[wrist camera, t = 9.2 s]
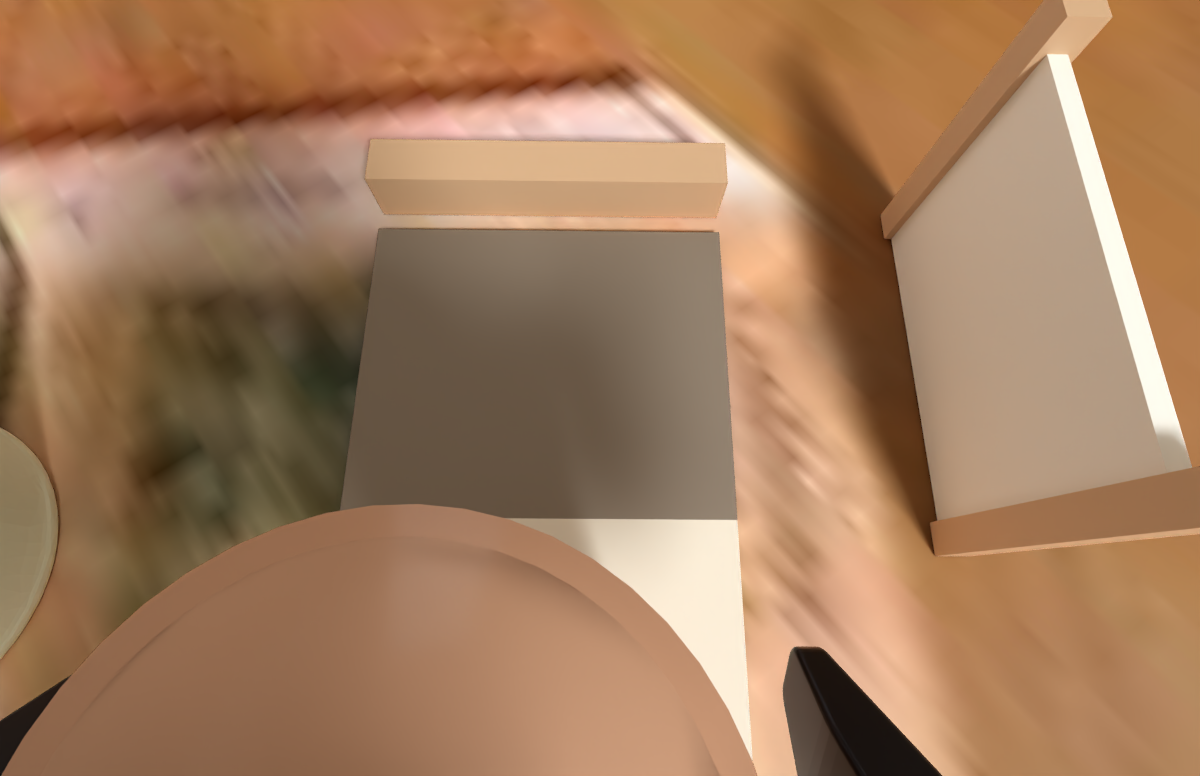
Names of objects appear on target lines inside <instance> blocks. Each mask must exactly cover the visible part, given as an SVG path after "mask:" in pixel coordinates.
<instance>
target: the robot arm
mask: <svg viewBox="0 0 1200 776" xmlns="http://www.w3.org/2000/svg"><path fill="white" fill-rule="evenodd" d="M70 676H71V675H70ZM70 676H69V677H70ZM69 677H67V678H66V679H64V680H63V681H61V682H60V683H58V684H56V685H55V686H53V687H52V688H50V689H49V690H47V691H46V692H44V693H43V694H41V695H39V696H38V697H36V698H35V699H33V700H32V701H30V702H29V703H27V704H26V705H24V706H22V707H21V708H19V709H18V710H16V711H15V712H13V713H12V714H10V715H9V716H7V717H5V718H4V719H2V720H1V721H0V776H1V775H2V773H3V772H4V770H5V768H6V767H7V765H8V763H9V761H10V760H11V758H12V756H13V755H14V753H15V751H16V750H17V748H18V746H19V745H20V743H21V741H22V740H23V738H24V736H25V735H26V734H27V732H28V731H29V730H30V728H31V727H32V726H33V724H34V723H35V722H36V720H37V719H38V717H39V716H40V715H41V713H42V712H43V711H44V709H45V708H46V707H47V705H48V704H49V702H50V701H51V700H52V698H53V697H54V696H55V694H56V693H57V692H58V690H59V689H60V688H61V686H62V685H63V684H64V683H65V682H66V681H67V680H68V679H69ZM783 700H784V706H785V712H786V717H787V722H788V727H789V733H790V738H791V743H792V749H793V754H794V759H795V765H796V770H797V775H798V776H942V775H941V774H940V773H939V772H938V771H937V769H936V768H935V767H934V766H933V765H932V764H931V763H930V762H929V761H928V760H927V759H926V758H925V757H924V756H923V755H922V753H921V752H920V751H919V750H918V749H917V748H916V747H915V746H914V745H913V744H912V743H911V742H910V741H909V740H908V739H907V737H906V736H905V735H904V734H903V733H902V732H901V731H900V730H899V729H898V728H897V727H896V726H895V725H894V724H893V723H892V721H891V720H890V719H889V718H888V717H887V716H886V715H885V714H884V713H883V712H882V711H881V710H880V709H879V708H878V706H877V705H876V704H875V703H874V702H873V701H872V700H871V699H870V698H869V697H868V696H867V695H866V694H865V693H864V692H863V690H862V689H861V688H860V687H859V686H858V685H857V684H856V683H855V682H854V681H853V680H852V679H851V678H850V677H849V676H848V674H847V673H846V672H845V671H844V670H843V669H842V668H841V667H840V666H839V665H838V664H837V663H836V662H835V661H834V659H833V658H832V657H831V656H830V655H829V654H828V653H827V652H826V651H825V650H823V649H822V648H820V647H794V648H793V649H792V650H791V652H790V656H789V660H788V665H787V670H786V674H785V679H784V683H783Z"/></svg>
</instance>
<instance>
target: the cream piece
mask: <svg viewBox="0 0 1200 776" xmlns="http://www.w3.org/2000/svg"><path fill="white" fill-rule="evenodd" d="M1111 18H1112V14H1111V11H1110V8H1109V5H1108V2H1107V0H1044V1H1043V2H1042V3H1041V5H1040V6H1039V7H1038V9H1037V10H1036V11H1035V13H1034V14H1033V15H1032V16H1031V18H1030V19H1029V20H1028V22H1027V23H1026V24H1025V26H1024V27H1023V28H1022V30H1021V31H1020V32H1019V34H1018V35H1017V36H1016V38H1015V39H1014V40H1013V41H1012V43H1011V44H1010V45H1009V47H1008V48H1007V49H1006V51H1005V52H1004V53H1003V55H1002V56H1001V57H1000V59H999V60H998V61H997V62H996V64H995V65H994V66H993V68H992V69H991V70H990V72H989V73H988V74H987V76H986V77H985V78H984V80H983V81H982V82H981V84H980V85H979V86H978V87H977V89H976V90H975V91H974V93H973V94H972V95H971V97H970V98H969V99H968V101H967V102H966V103H965V105H964V106H963V107H962V108H961V110H960V111H959V112H958V114H957V115H956V116H955V118H954V119H953V120H952V122H951V123H950V124H949V126H948V127H947V128H946V129H945V131H944V132H943V133H942V135H941V136H940V137H939V139H938V140H937V141H936V143H935V144H934V145H933V147H932V148H931V149H930V151H929V152H928V153H927V154H926V156H925V157H924V158H923V160H922V161H921V162H920V164H919V165H918V166H917V168H916V169H915V170H914V172H913V173H912V174H911V175H910V177H909V178H908V179H907V181H906V182H905V183H904V185H903V186H902V187H901V189H900V190H899V191H898V193H897V194H896V195H895V197H894V198H893V199H892V200H891V202H890V203H889V204H888V206H887V207H886V208H885V210H884V211H883V212H882V214H881V222H882V228H883V234H884V239H891V241H892V247H893V253H894V259H895V265H896V271H897V277H898V284H899V290H900V296H901V302H902V308H903V314H904V320H905V326H906V332H907V338H908V345H909V351H910V357H911V363H912V369H913V375H914V381H915V387H916V393H917V399H918V405H919V412H920V418H921V424H922V430H923V436H924V442H925V448H926V454H927V460H928V466H929V473H930V479H931V485H932V491H933V497H934V503H935V509H936V515H937V521H934V522H930V528H931V534H932V540H933V547H934V553H935V556H976V555H986V554H997V553H1007V552H1017V551H1028V550H1038V549H1048V548H1059V547H1069V546H1079V545H1090V544H1100V543H1110V542H1121V541H1131V540H1141V539H1152V538H1162V537H1172V536H1183V535H1193V534H1200V466H1198V467H1193V468H1192V465H1191V462H1190V459H1189V455H1188V452H1187V449H1186V445H1185V442H1184V439H1183V435H1182V432H1181V429H1180V425H1179V422H1178V419H1177V415H1176V412H1175V409H1174V405H1173V402H1172V399H1171V395H1170V392H1169V389H1168V385H1167V382H1166V379H1165V376H1164V372H1163V369H1162V366H1161V362H1160V359H1159V356H1158V352H1157V349H1156V346H1155V342H1154V339H1153V336H1152V332H1151V329H1150V326H1149V322H1148V319H1147V316H1146V312H1145V309H1144V306H1143V302H1142V299H1141V296H1140V292H1139V289H1138V286H1137V282H1136V279H1135V276H1134V272H1133V269H1132V266H1131V262H1130V259H1129V256H1128V252H1127V249H1126V246H1125V242H1124V239H1123V236H1122V232H1121V229H1120V226H1119V222H1118V219H1117V216H1116V212H1115V209H1114V206H1113V202H1112V199H1111V196H1110V192H1109V189H1108V186H1107V182H1106V179H1105V176H1104V172H1103V169H1102V166H1101V162H1100V159H1099V156H1098V152H1097V149H1096V146H1095V142H1094V139H1093V136H1092V132H1091V129H1090V126H1089V122H1088V119H1087V116H1086V112H1085V109H1084V106H1083V102H1082V99H1081V96H1080V93H1079V89H1078V86H1077V83H1076V79H1075V76H1074V73H1073V69H1072V66H1071V63H1072V61H1073V60H1074V59H1075V58H1076V57H1077V56H1078V55H1079V54H1080V53H1081V51H1082V50H1083V49H1084V48H1085V47H1086V46H1087V45H1088V44H1089V43H1090V42H1091V40H1092V39H1093V38H1094V37H1095V36H1096V35H1097V34H1098V33H1099V32H1100V30H1101V29H1102V28H1103V27H1104V26H1105V25H1106V24H1107V23H1108V22H1109V20H1110V19H1111ZM365 180H366V182H367V184H368V186H369V188H370V189H371V191H372V193H373V195H374V197H375V199H376V200H377V202H378V204H379V206H380V208H381V209H382V211H383V213H384V214H413V215H502V216H591V217H680V218H716V217H717V214H718V211H719V208H720V205H721V202H722V199H723V196H724V193H725V190H726V187H727V184H728V181H727V166H726V152H725V143H658V142H576V141H494V140H412V139H371V140H370V146H369V153H368V160H367V166H366V173H365ZM404 504H423V505H433V506H443V507H453V508H463V509H468V510H472V511H476V512H480V513H485V514H489V515H493V516H497V517H501V518H505V519H509V520H512V521H514V522H517V523H520V524H522V525H525V526H527V527H530V528H532V529H535V530H538V531H540V532H543V533H545V534H548V535H550V536H553V537H554V538H556V539H558V540H560V541H562V542H563V543H565V544H567V545H569V546H571V547H572V548H574V549H576V550H578V551H580V552H581V553H583V554H585V555H587V556H589V557H590V558H592V559H594V560H595V561H596V562H598V563H599V564H600V565H602V566H603V567H604V568H606V569H607V570H608V571H610V572H611V573H613V574H614V575H615V576H617V577H618V578H619V579H621V580H622V581H623V582H625V583H626V584H627V585H629V586H630V587H631V588H632V589H633V590H634V591H635V592H636V593H638V594H639V595H640V596H641V597H642V598H643V599H644V600H645V601H646V602H647V603H648V604H649V605H650V606H651V607H652V608H653V609H654V610H655V611H656V612H657V613H658V614H659V615H660V616H661V617H662V618H663V619H664V620H665V621H666V622H667V623H668V624H669V625H670V626H671V628H672V629H673V630H674V631H675V633H676V634H677V635H678V636H679V638H680V639H681V640H682V641H683V643H684V644H685V645H686V646H687V648H688V649H689V650H690V651H691V653H692V654H693V655H694V656H695V658H696V659H697V660H698V661H699V663H700V664H701V666H702V667H703V669H704V671H705V672H706V674H707V676H708V677H709V679H710V680H711V682H712V684H713V685H714V687H715V689H716V690H717V692H718V693H719V695H720V697H721V698H722V700H723V701H724V703H725V705H726V706H727V708H728V710H729V712H730V714H731V716H732V718H733V720H734V723H735V725H736V727H737V729H738V731H739V733H740V735H741V738H742V740H743V742H744V744H745V746H746V748H747V750H748V753H749V755H750V757H751V759H752V745H751V729H750V713H749V697H748V682H747V666H746V650H745V634H744V618H743V603H742V587H741V571H740V555H739V539H738V524H737V508H736V492H735V476H734V461H733V445H732V429H731V413H730V397H729V382H728V366H727V350H726V334H725V318H724V303H723V287H722V271H721V255H720V240H719V232H628V231H537V230H447V229H379V231H378V238H377V245H376V252H375V260H374V267H373V274H372V282H371V289H370V296H369V303H368V311H367V318H366V325H365V332H364V340H363V347H362V354H361V362H360V369H359V376H358V383H357V391H356V398H355V405H354V413H353V420H352V427H351V434H350V442H349V449H348V456H347V464H346V471H345V478H344V485H343V493H342V500H341V507H340V511H342V510H348V509H354V508H360V507H366V506H373V505H404ZM752 761H753V760H752Z"/></svg>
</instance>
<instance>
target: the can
mask: <svg viewBox="0 0 1200 776" xmlns="http://www.w3.org/2000/svg"><path fill="white" fill-rule="evenodd" d="M57 540H58V509H57V504H56V499H55V493H54V490H53V488H52V485H51V482H50V480H49V477H48V474H47V472H46V471H45V469H44V467H43V466H42V464H41V462H40V461H39V459H38V458H37V457H36V455H35V454H34V453H33V452H32V451H31V450H30V449H29V448H28V447H27V446H26V445H25V444H24V443H23V442H22V441H21V440H19V439H18V438H17V437H15V436H14V435H13V434H11V433H9V432H7V431H6V430H4V429H2V428H0V659H1V658H2V657H3V656H4V655H5V653H6V652H7V651H8V650H9V649H10V647H11V646H12V645H13V644H14V642H15V641H16V640H17V638H18V637H19V635H20V634H21V633H22V631H23V630H24V628H25V627H26V625H27V623H28V622H29V620H30V618H31V616H32V614H33V613H34V611H35V609H36V607H37V605H38V604H39V602H40V600H41V597H42V595H43V592H44V590H45V587H46V585H47V582H48V580H49V577H50V574H51V570H52V567H53V563H54V559H55V553H56V548H57Z"/></svg>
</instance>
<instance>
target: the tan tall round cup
mask: <svg viewBox="0 0 1200 776" xmlns="http://www.w3.org/2000/svg"><path fill="white" fill-rule="evenodd" d="M1 776H757V773H756V770H755V767H754V764H753V761H752V759H751V757H750V755H749V753H748V750H747V748H746V746H745V744H744V742H743V740H742V738H741V735H740V733H739V731H738V729H737V727H736V725H735V723H734V720H733V718H732V716H731V714H730V712H729V710H728V708H727V706H726V705H725V703H724V701H723V700H722V698H721V697H720V695H719V693H718V692H717V690H716V689H715V687H714V685H713V684H712V682H711V680H710V679H709V677H708V676H707V674H706V672H705V671H704V669H703V667H702V666H701V664H700V663H699V661H698V660H697V659H696V658H695V656H694V655H693V654H692V653H691V651H690V650H689V649H688V648H687V646H686V645H685V644H684V643H683V641H682V640H681V639H680V638H679V636H678V635H677V634H676V633H675V631H674V630H673V629H672V628H671V626H670V625H669V624H668V623H667V622H666V621H665V620H664V619H663V618H662V617H661V616H660V615H659V614H658V613H657V612H656V611H655V610H654V609H653V608H652V607H651V606H650V605H649V604H648V603H647V602H646V601H645V600H644V599H643V598H642V597H641V596H640V595H639V594H638V593H636V592H635V591H634V590H633V589H632V588H631V587H630V586H629V585H627V584H626V583H625V582H623V581H622V580H621V579H619V578H618V577H617V576H615V575H614V574H613V573H611V572H610V571H608V570H607V569H606V568H604V567H603V566H602V565H600V564H599V563H598V562H596V561H595V560H594V559H592V558H590V557H589V556H587V555H585V554H583V553H581V552H580V551H578V550H576V549H574V548H572V547H571V546H569V545H567V544H565V543H563V542H562V541H560V540H558V539H556V538H554V537H553V536H550V535H548V534H545V533H543V532H540V531H538V530H535V529H532V528H530V527H527V526H525V525H522V524H520V523H517V522H514V521H512V520H509V519H505V518H501V517H497V516H493V515H489V514H485V513H480V512H476V511H472V510H468V509H463V508H453V507H443V506H433V505H423V504H404V505H373V506H366V507H360V508H354V509H348V510H342V511H335V512H329V513H324V514H321V515H317V516H314V517H311V518H307V519H304V520H300V521H297V522H294V523H290V524H287V525H283V526H280V527H277V528H275V529H273V530H270V531H268V532H266V533H263V534H261V535H259V536H256V537H254V538H252V539H249V540H247V541H245V542H242V543H240V544H238V545H235V546H233V547H231V548H229V549H228V550H226V551H224V552H222V553H221V554H219V555H217V556H215V557H214V558H212V559H210V560H208V561H207V562H205V563H203V564H201V565H200V566H198V567H196V568H194V569H193V570H191V571H189V572H187V573H186V574H185V575H183V576H182V577H180V578H179V579H178V580H176V581H175V582H174V583H172V584H171V585H169V586H168V587H167V588H165V589H164V590H163V591H161V592H160V593H158V594H157V595H156V596H154V597H153V598H152V599H150V600H149V601H147V602H146V603H145V604H143V605H142V606H141V607H140V608H139V609H138V610H137V611H135V612H134V613H133V614H132V615H131V616H130V617H129V618H128V619H127V620H126V621H124V622H123V623H122V624H121V625H120V626H119V627H118V628H117V629H116V630H114V631H113V632H112V633H111V634H110V635H109V636H108V637H107V638H106V639H104V640H103V641H102V642H101V643H100V644H99V645H98V646H97V648H96V649H95V650H94V651H93V652H92V653H91V654H90V655H89V656H88V658H87V659H86V660H85V661H84V662H83V663H82V664H81V665H80V666H79V668H78V669H77V670H76V671H75V672H74V673H73V674H72V675H71V676H70V677H69V679H68V680H67V681H66V682H65V683H64V684H63V685H62V686H61V688H60V689H59V690H58V692H57V693H56V694H55V696H54V697H53V698H52V700H51V701H50V702H49V704H48V705H47V707H46V708H45V709H44V711H43V712H42V713H41V715H40V716H39V717H38V719H37V720H36V722H35V723H34V724H33V726H32V727H31V728H30V730H29V731H28V732H27V734H26V735H25V736H24V738H23V740H22V741H21V743H20V745H19V746H18V748H17V750H16V751H15V753H14V755H13V756H12V758H11V760H10V761H9V763H8V765H7V767H6V768H5V770H4V772H3V773H2V775H1Z"/></svg>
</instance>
